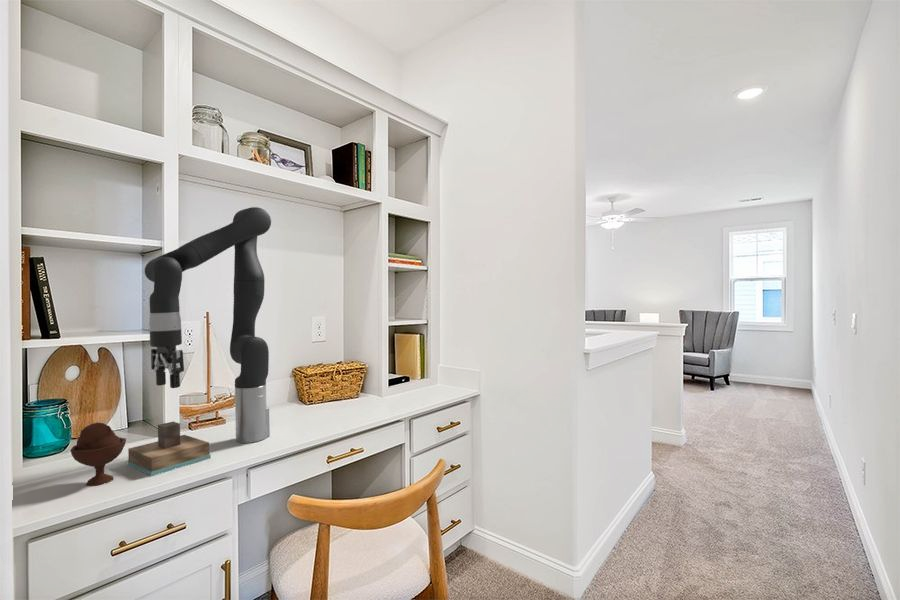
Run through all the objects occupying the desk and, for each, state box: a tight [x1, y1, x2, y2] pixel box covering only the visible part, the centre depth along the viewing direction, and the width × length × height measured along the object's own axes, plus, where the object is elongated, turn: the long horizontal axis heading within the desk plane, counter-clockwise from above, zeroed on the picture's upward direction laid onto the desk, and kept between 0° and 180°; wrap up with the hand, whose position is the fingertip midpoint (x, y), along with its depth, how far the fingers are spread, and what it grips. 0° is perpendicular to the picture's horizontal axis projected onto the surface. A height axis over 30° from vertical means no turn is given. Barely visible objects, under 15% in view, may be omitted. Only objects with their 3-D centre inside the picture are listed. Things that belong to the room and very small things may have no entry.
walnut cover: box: [127, 421, 210, 472], centre depth 124 cm, size 15×15×10 cm
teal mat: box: [127, 453, 211, 477], centre depth 124 cm, size 15×15×1 cm
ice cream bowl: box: [70, 422, 127, 487], centre depth 111 cm, size 11×11×15 cm
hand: (168, 386), depth 124 cm, fingers open, 8 cm apart
